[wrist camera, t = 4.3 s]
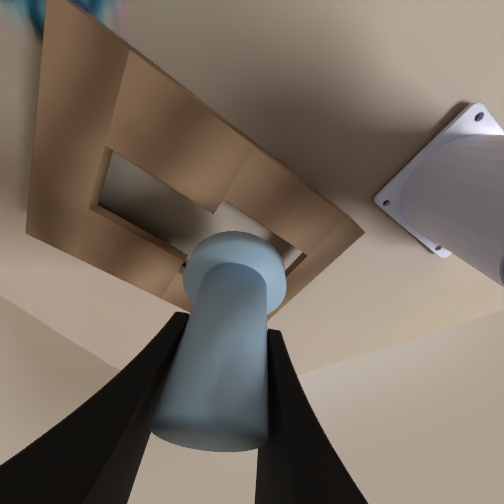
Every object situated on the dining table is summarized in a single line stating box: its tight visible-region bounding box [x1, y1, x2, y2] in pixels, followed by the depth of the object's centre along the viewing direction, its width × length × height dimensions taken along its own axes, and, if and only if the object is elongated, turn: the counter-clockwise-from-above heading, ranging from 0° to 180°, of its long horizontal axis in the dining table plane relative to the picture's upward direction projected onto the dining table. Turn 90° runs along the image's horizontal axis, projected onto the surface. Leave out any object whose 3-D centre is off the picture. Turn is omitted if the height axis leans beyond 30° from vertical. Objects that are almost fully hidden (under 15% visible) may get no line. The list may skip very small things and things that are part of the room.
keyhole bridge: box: [26, 0, 365, 321], centre depth 17 cm, size 22×16×3 cm
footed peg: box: [149, 231, 286, 452], centre depth 10 cm, size 6×6×8 cm
